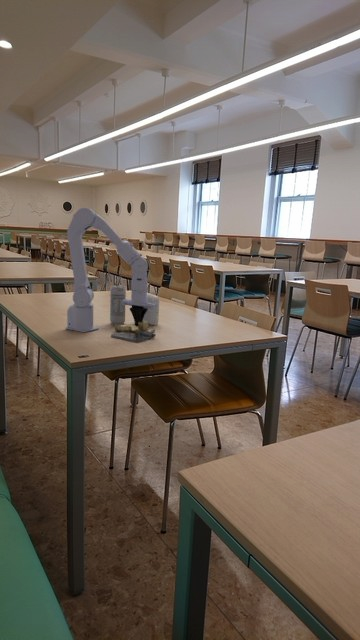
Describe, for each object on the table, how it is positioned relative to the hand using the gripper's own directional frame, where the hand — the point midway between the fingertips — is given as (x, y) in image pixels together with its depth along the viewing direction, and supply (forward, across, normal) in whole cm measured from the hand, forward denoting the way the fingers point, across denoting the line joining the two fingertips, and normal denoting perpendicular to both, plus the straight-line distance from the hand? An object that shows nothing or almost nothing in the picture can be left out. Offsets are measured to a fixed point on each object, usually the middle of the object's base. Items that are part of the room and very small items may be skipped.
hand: (138, 325), depth 156 cm
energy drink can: (+2, +14, -5) cm, 15 cm away
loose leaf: (+2, +1, +1) cm, 2 cm away
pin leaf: (+2, -5, +9) cm, 10 cm away
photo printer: (+2, +6, -14) cm, 16 cm away
